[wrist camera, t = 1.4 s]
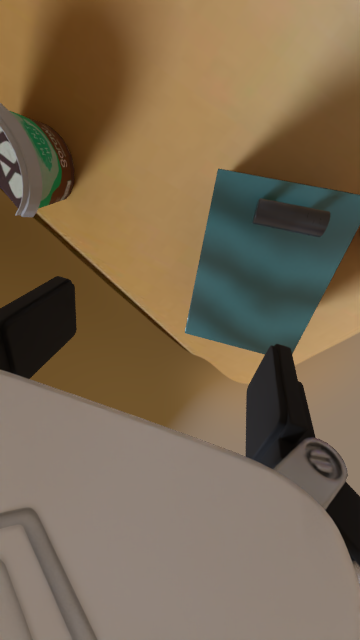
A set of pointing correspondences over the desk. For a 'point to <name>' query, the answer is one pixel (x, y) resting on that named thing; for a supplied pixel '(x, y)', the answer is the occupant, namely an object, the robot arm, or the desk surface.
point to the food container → (33, 163)
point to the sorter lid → (267, 259)
